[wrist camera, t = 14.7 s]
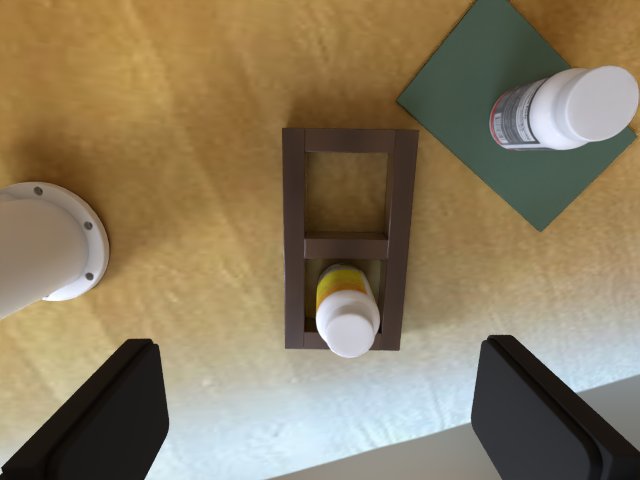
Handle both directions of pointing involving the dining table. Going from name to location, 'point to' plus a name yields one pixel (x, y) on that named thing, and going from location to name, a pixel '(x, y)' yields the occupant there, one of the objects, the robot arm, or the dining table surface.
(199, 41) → the dining table surface
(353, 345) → the supplement bottle
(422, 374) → the dining table surface
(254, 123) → the dining table surface
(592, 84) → the pill bottle
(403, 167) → the rack
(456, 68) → the mat
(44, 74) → the dining table surface
